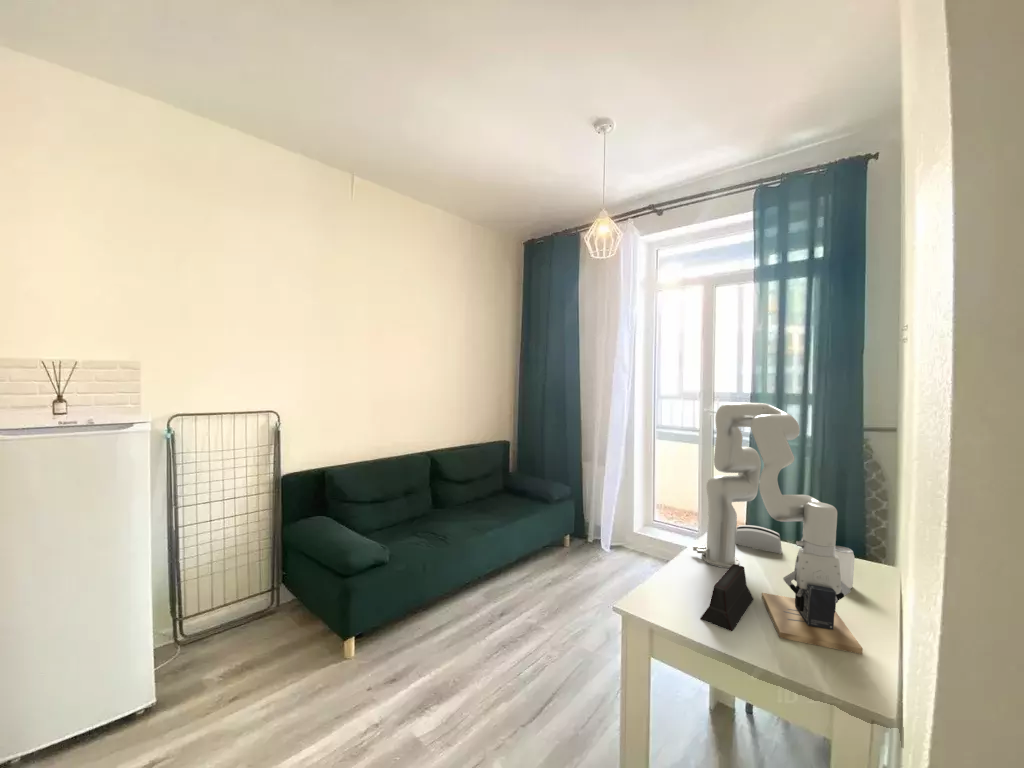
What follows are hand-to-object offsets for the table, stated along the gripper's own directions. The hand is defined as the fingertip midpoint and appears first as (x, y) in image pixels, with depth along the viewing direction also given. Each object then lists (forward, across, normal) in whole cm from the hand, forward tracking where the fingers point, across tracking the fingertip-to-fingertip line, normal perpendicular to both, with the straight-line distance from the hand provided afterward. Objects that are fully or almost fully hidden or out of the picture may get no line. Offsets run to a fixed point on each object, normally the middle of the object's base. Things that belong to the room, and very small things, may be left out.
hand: (814, 611), depth 122 cm
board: (+4, -2, 0) cm, 4 cm away
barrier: (+4, -22, 0) cm, 22 cm away
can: (+4, +17, +31) cm, 35 cm away
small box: (+2, 0, 0) cm, 2 cm away
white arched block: (+4, -3, +55) cm, 55 cm away
